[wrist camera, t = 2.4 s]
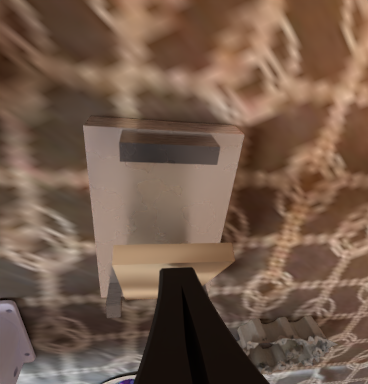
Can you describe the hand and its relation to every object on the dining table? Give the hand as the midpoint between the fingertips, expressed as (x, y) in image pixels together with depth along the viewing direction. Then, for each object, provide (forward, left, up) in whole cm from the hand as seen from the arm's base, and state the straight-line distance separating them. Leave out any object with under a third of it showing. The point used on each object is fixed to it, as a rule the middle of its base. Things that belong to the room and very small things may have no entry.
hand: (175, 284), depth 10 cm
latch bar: (-4, 0, -4) cm, 5 cm away
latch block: (-3, 0, -9) cm, 9 cm away
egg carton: (-21, -15, -9) cm, 27 cm away
